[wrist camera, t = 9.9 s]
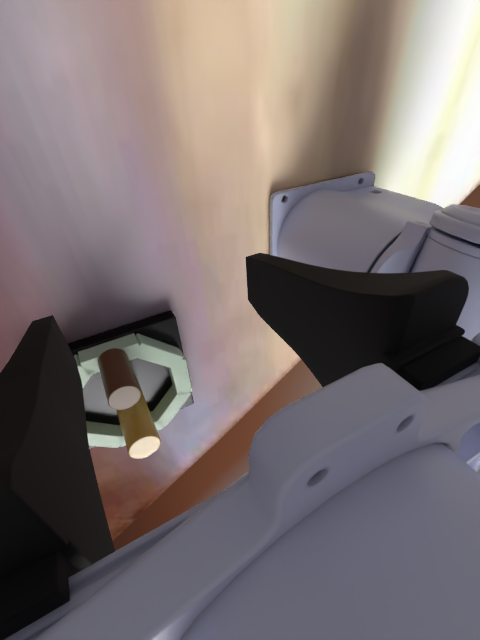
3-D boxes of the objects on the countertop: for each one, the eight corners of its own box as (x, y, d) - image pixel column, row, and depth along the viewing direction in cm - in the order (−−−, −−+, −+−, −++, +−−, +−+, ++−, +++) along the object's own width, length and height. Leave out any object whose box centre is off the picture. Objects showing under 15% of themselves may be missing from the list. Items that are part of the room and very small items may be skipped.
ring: (191, 403, 29) (214, 446, 25) (81, 452, 25) (89, 509, 22) (172, 315, 23) (198, 356, 19) (26, 364, 20) (26, 423, 16)
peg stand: (171, 309, 24) (206, 364, 19) (190, 395, 29) (221, 454, 25) (25, 356, 20) (25, 437, 16) (78, 443, 26) (90, 521, 21)
